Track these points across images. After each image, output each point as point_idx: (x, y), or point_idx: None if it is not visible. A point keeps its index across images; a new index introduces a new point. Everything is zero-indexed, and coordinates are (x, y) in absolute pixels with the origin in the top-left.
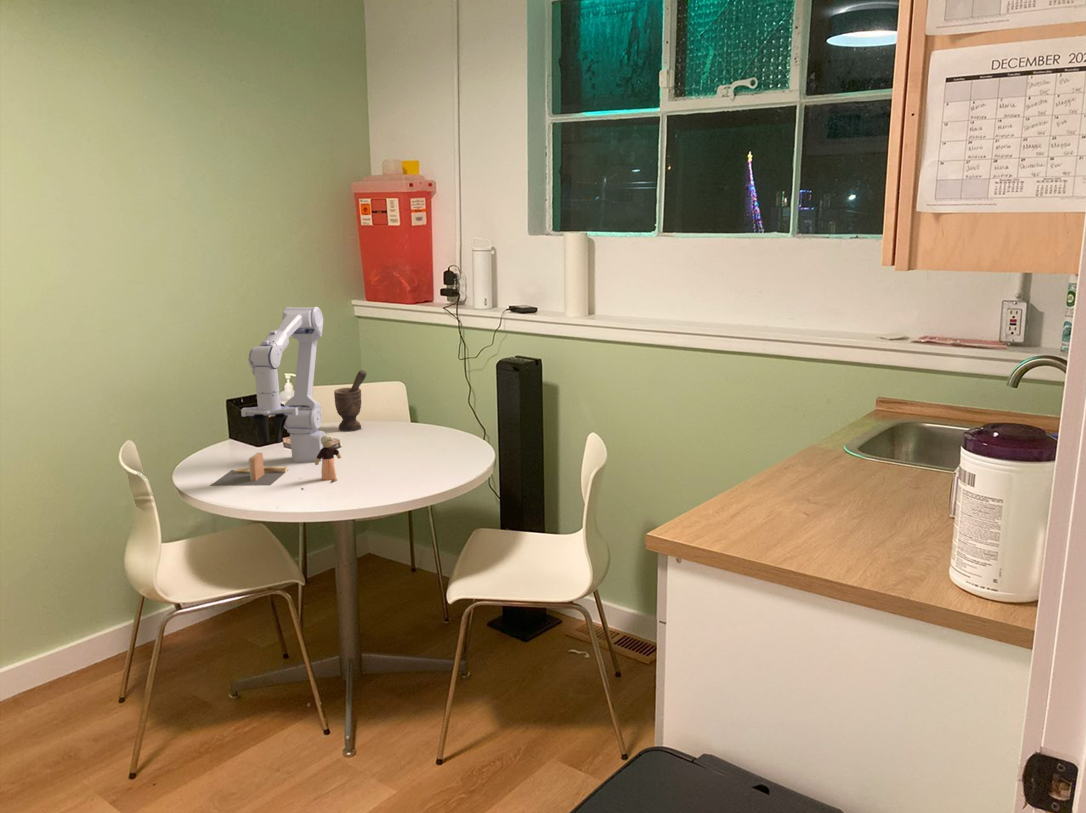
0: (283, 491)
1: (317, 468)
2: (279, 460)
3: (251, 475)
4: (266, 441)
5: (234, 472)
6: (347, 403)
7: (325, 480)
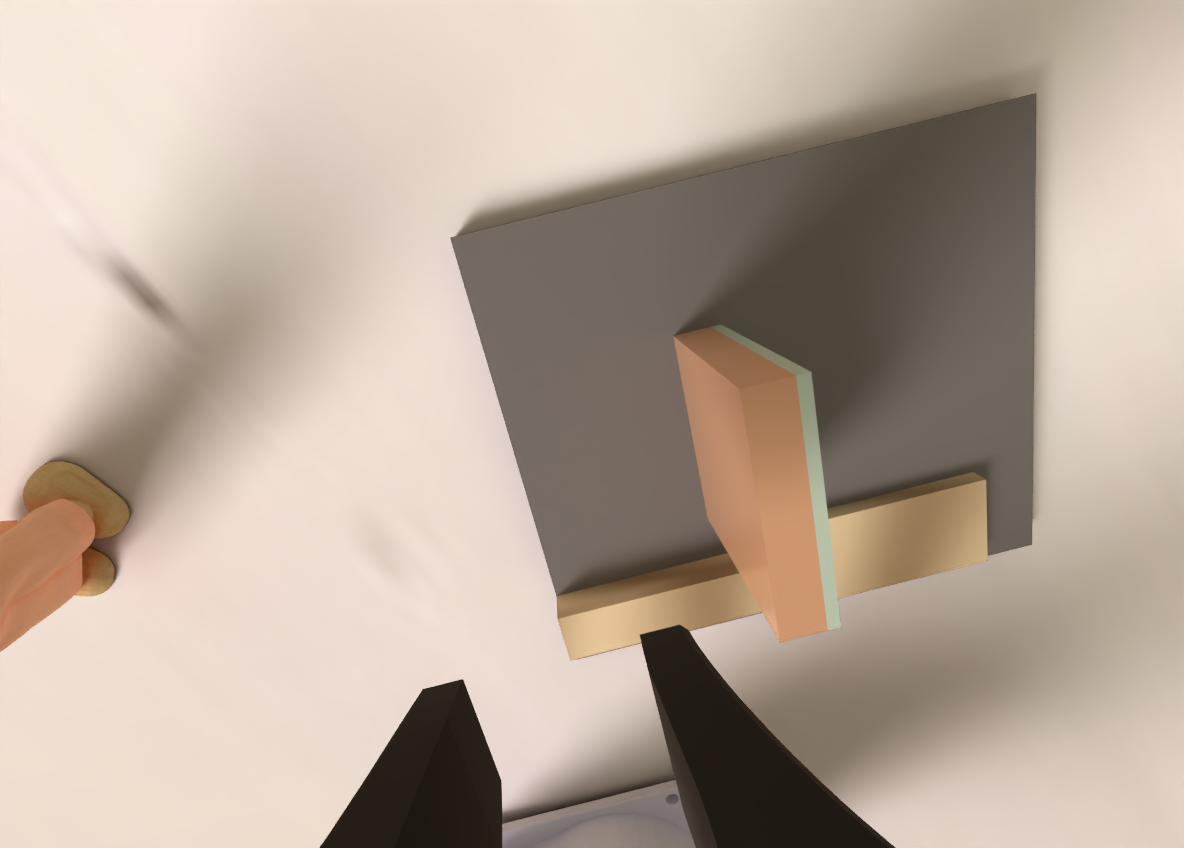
0: (261, 173)
1: None
2: None
3: (723, 334)
4: (647, 662)
5: (974, 477)
6: None
7: (32, 489)
